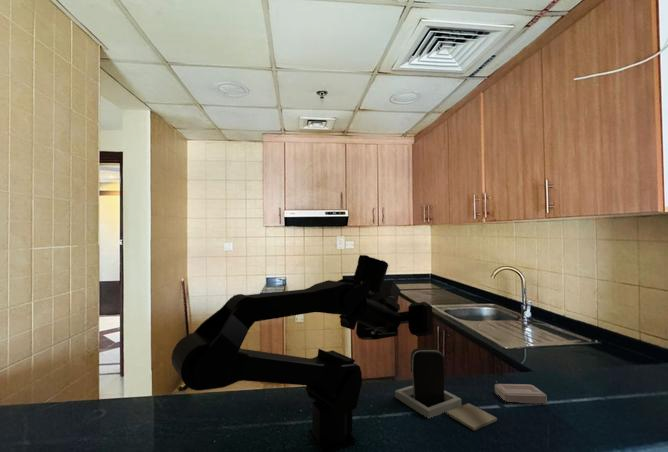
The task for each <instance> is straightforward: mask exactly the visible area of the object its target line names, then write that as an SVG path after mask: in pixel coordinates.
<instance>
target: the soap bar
mask: <svg viewBox="0 0 668 452" xmlns="http://www.w3.org/2000/svg"><path fill="white" fill-rule="evenodd" d="M494 393H495V395H496V396H498V395H499V396H500V397H501V398H502V399H503V400H505V401H507V402H519V403H530V404H529V405H532V404H531V403H540V404H539V405H547V404H548V400H547V399H548V398H547V394H546V393H544V392H543V391H542V390H540V389H539V388H537V387H536V386H534V385H533V384H525V383H524V384H520V383H519V384H518V383H517V384H516V383H514V384H513V383H495V384H494ZM499 396H498V397H499ZM500 397H499V398H500ZM501 398H500V399H501ZM502 399H501V400H502ZM503 400H502V401H503ZM541 403H543V404H541ZM546 403H547V404H546Z"/></svg>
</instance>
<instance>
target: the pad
mask: <svg viewBox="0 0 668 452" xmlns="http://www.w3.org/2000/svg"><path fill="white" fill-rule="evenodd" d="M445 413H446V415H447V416H448V415H449V416H448V417H449V418H450V417H451V418H452V419H453V420H455V421H457V422H459V423H460V424H462V425H463V426H465V427H467V428H469V430H472V431H477V430H479V429H482V428H484V427H486V426H488V425H491V424H492V423H495V422H497V421H498V418H497V417H496V416H494V415H492V414H490V413H489V412H486V411H484V410H482V409H480V408H478V407H477V406H475V405H473V404H471V403H469V402H468V403H465V404H462V406H460V407H458V408H455V409H452V410H450V411H447V412H445Z"/></svg>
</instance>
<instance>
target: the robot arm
mask: <svg viewBox="0 0 668 452" xmlns="http://www.w3.org/2000/svg"><path fill="white" fill-rule="evenodd" d="M388 269H389V263H388V262H386V261H385V260H383V259H381V260H380V259H378V258H375V257H370V256H368V255H366V254H360V255H359V256H358V260H357V265H356V268H355V271H354V274H353V278H342V279H339V280H331V279H329V280H324V281H321V282H318V283H315V284H313V285H312V286H310V287H307V288H303V289H293V290H285V291H284V290H282V291H273V292H263V293H253V294H242V293H238V294H234V295H233V296H231V297H230V298H229V299H228V300H227V301H226V302H225V304H224V305H222V307H220V309H218V310H217V311H215V312H214V313H213V314H211V315H210V316H209V317H208V318H206V319H205V320H204V321H202V323H201V324H200V325H199V326H198V327H197V328H196V329H195V330H194V331H193V332H191V333H188V334H187V335H185V336H184V337H182V338H181V339H180V340H178V342H177V343H176V345H175V346H174V347H173V350H172V352H171V353H172V354H171V358H170V359H171V365H172V366H173V369H174V371H175V372H176V373H177V375H178V376H179V378H180V379H181V380H182V382H183V383H184V385H185V386H186V387H187V388H188V389H190V390H192V391H197V392H198V391H200V392H201V391H208V390H214V389H223V388H227V387H228V386H230V385H234V384H235V383H239V382H254V383H255V382H256V383H268V384H281V385H295V386H305V391H306V394H307V397H308V398H309V399H312V400H313V402H312V408H311V409H312V410H311V412H312V415H311V416H312V422H311V423H312V424H311V425H312V426H311V428H312V429H309V430H308V432H307V433H308V436H309V438H311V440H312V441H313V442H314V444H315V445H316V446H317V448H318V449H319V450H320V452H334V451H336V450H339V449H342V448H344V447H347V446H350V445H352V444H355V443H356V437H355V436H354V435H353V434H352V433H353V427H354V426H353V423H354V422H353V410H355V409H357V406H358V401H359V398H360V393H361V388H362V383H363V375H362V373H363V372H362V369H361V366H360V365H359V364H357V363H355V361H356V360H355V359H354V358H351V357H349V356H346V355H344V354H342V353H340V352H337V351H335V350H330V351H329V350H328V351H326V350H323V349H321V348H318V350H317V355H316V356H314V357H311V358H308V357H302V356H295V355H288V354H280V353H275V352H268V351H266V352H265V351H260V350H254V349H253V350H252V349H245V348H241V346H242V345H243V343H244V341H245V339H246V336H247V334H248V333H249V330H250V329H251V327H253V325H254V324H255V323H256V322H263V321H268V320H274V319H275V320H276V319H281V318H288V317H293V316H301V315H305V314H311V313H312V314H313V313H321V314H330V315H339V319H340V322H339V323H340V326H341V327H343V328H345V329H348V330H352V331H353V330H355V334H356V335H357V338H358V339H360V340H363V341H367V340H369V341H374V340H381V339H387V338H393V337H398V334H399V332H398V328H399V327H400V325H403V324H405V325H406V324H408V325H407V327H408V330H409V332H410V334H411V335H413V336H415V337H427V336H432V334H433V333H434V318H433V317H434V315H433V306H432V305H431V304H430V303H428V302H426V301H422V302H415V303H410V304H409V305H408V307H407V308H408V309H407V310H408V311H402V312H399V311H400V310H401V308H400V307H401V305H400V304H399V303H397V302H398V299H399V296H400V294H401V289H400V288H399V286H398V285H397V284H396V283H395V281H394V280H390V279H389V280H386V281H385V278H386V274H387V271H388Z"/></svg>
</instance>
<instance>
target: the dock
mask: <svg viewBox="0 0 668 452" xmlns="http://www.w3.org/2000/svg"><path fill="white" fill-rule="evenodd" d="M394 395H395V397H394V398H396V400H397V399H398V400H399V401H401V402H402V403H403V404H404V405H406V406H408V407H410V408H411V409H412V410H414V411H416V412H417V413H419V414H420V415H421V416H423V415H424V416H423V417H425V418H426V417H427V419H428V420H429V418H430V419H432V418H435V417H437V416H440V415H442V413H443V414H444V412H445V413H446V412H447V411H449V410H452V409H455V408H458V407H460V406H463V404H462V398H460V397H459V396H457V395H455V394H453V393H451V392H449V391H446V390H445V389H444V399H445V402H442V403H439V404H437V405H430V406H429V407H428V406H427V405H423V404H422V403H420V402H418V401H417V400H415V399H413V384H412V385H409V386H405V387H403V388H399V389H396V390H395V394H394ZM434 416H435V417H434ZM431 417H432V418H431Z"/></svg>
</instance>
